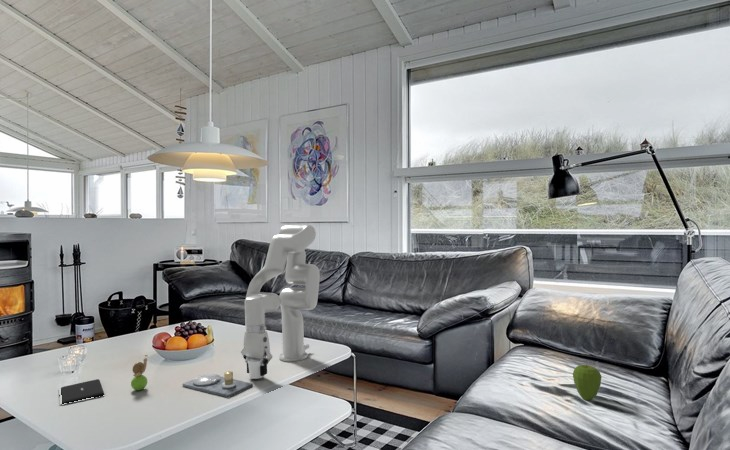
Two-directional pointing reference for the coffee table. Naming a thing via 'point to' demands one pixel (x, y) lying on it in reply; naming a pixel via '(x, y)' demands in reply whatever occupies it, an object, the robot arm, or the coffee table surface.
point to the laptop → (81, 391)
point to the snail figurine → (139, 375)
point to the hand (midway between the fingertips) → (257, 373)
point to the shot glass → (254, 368)
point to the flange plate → (218, 384)
